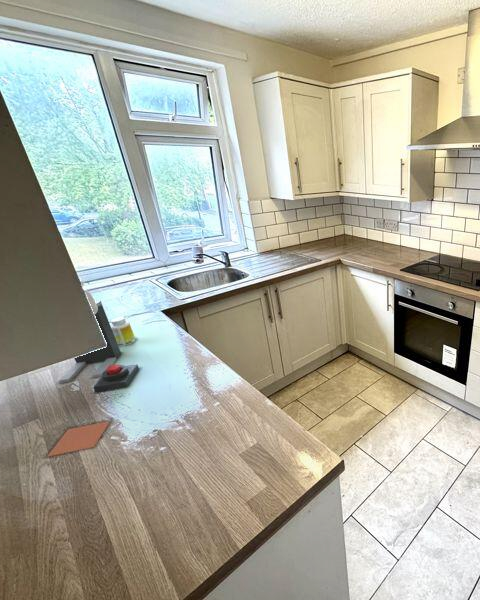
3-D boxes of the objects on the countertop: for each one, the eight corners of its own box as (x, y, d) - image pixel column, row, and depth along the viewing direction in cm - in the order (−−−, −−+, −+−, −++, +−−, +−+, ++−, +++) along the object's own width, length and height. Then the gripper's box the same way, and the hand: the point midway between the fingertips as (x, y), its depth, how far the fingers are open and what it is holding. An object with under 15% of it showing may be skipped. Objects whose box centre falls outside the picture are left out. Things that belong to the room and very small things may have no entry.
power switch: (95, 393, 98) (90, 382, 96) (110, 374, 107) (106, 364, 105) (127, 388, 100) (123, 377, 99) (139, 370, 109) (135, 359, 107)
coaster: (47, 458, 77) (46, 456, 76) (69, 430, 84) (68, 429, 84) (94, 448, 79) (93, 446, 79) (111, 422, 87) (110, 420, 87)
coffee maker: (60, 384, 102) (30, 323, 94) (84, 360, 114) (59, 304, 106) (103, 377, 105) (78, 318, 97) (121, 354, 117) (100, 300, 109)
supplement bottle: (138, 338, 128) (129, 314, 124) (133, 345, 123) (124, 321, 119) (121, 340, 126) (111, 317, 122) (115, 348, 121) (105, 323, 117)
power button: (106, 375, 100) (104, 370, 99) (111, 369, 103) (109, 365, 102) (119, 373, 101) (117, 369, 100) (123, 367, 104) (121, 363, 103)
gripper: (-33, 298, 76) (-4, 349, 81) (77, 287, 82) (97, 335, 87) (-12, 288, 81) (14, 337, 86) (89, 279, 87) (108, 325, 93)
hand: (57, 336), depth 87 cm, fingers closed on sprinkles bottle, 4 cm apart
